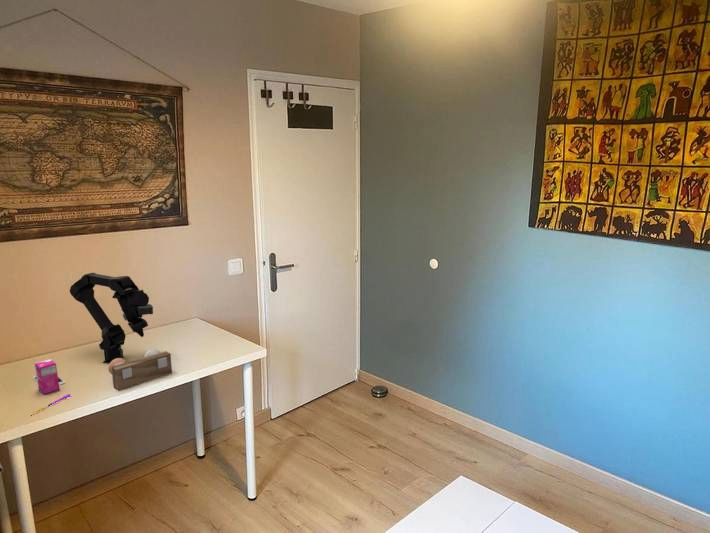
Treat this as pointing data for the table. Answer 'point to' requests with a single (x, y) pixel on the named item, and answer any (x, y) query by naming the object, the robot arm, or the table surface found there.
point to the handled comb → (55, 401)
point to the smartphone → (58, 380)
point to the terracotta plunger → (125, 372)
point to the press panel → (141, 371)
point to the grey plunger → (160, 362)
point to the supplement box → (47, 376)
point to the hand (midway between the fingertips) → (142, 336)
